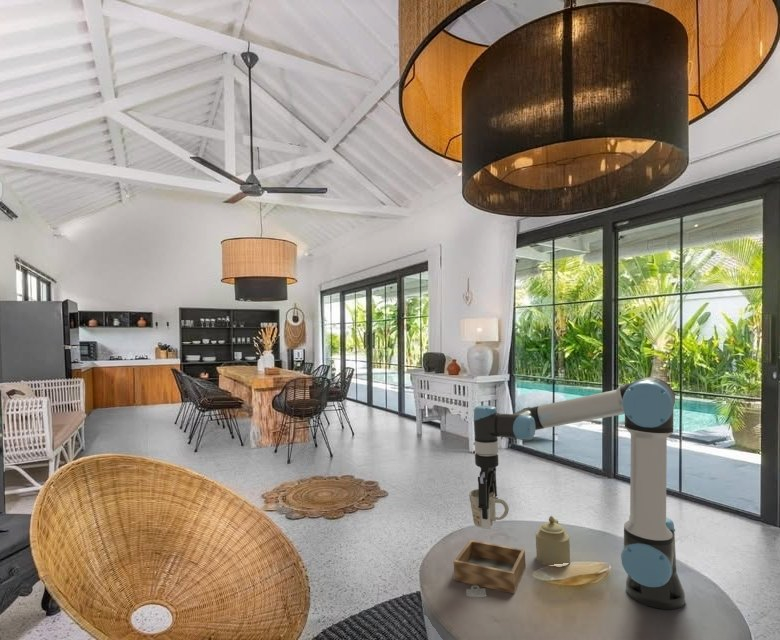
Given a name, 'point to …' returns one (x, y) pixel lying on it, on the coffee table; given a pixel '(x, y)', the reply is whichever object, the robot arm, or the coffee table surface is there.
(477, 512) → the mug
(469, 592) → the mounting bracket
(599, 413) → the robot arm
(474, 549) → the open wooden crate
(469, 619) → the coffee table surface
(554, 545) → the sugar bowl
